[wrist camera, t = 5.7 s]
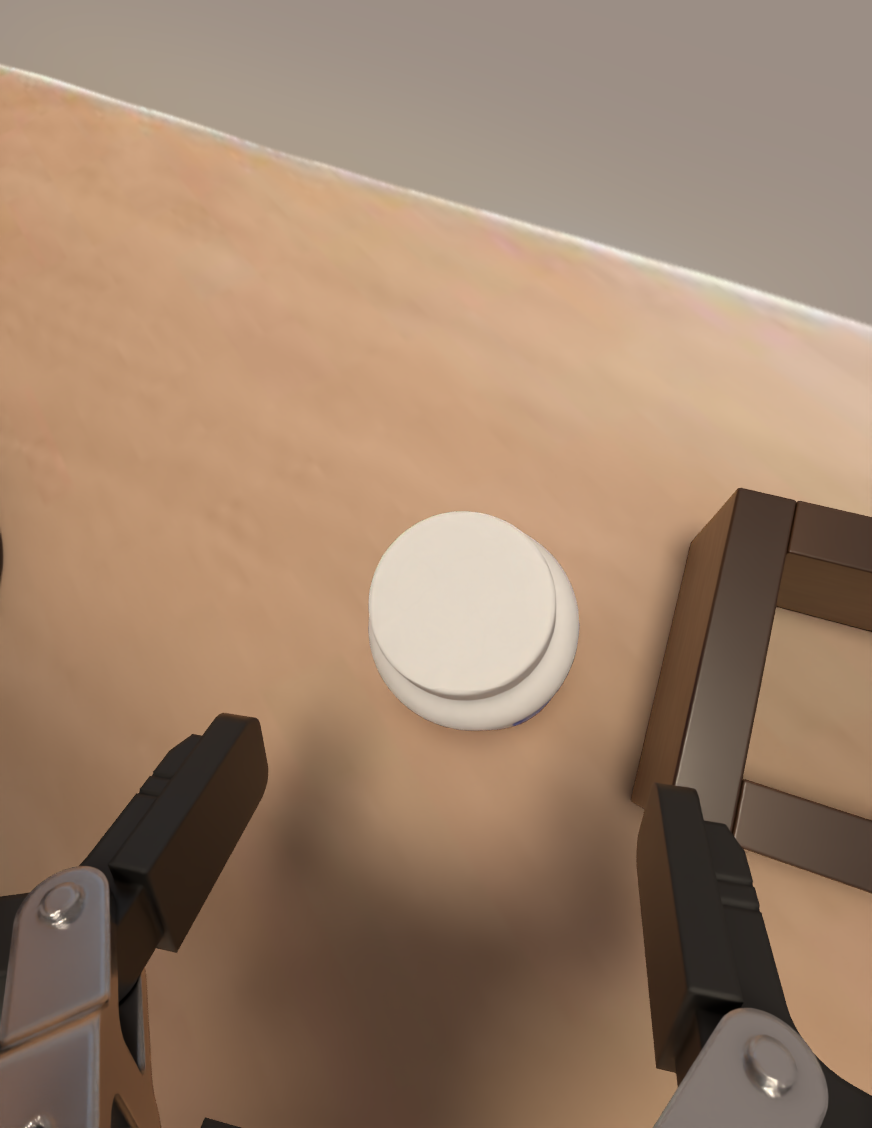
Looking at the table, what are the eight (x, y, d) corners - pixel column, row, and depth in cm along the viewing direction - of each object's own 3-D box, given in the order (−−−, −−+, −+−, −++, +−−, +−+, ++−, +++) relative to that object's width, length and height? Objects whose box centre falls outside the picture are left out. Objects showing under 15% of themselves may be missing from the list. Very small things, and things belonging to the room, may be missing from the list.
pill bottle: (542, 568, 22) (557, 448, 13) (580, 715, 21) (628, 697, 11) (401, 600, 23) (319, 506, 13) (428, 746, 21) (356, 753, 12)
